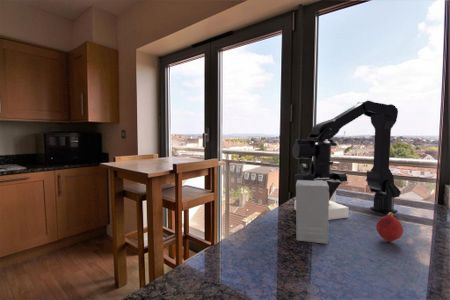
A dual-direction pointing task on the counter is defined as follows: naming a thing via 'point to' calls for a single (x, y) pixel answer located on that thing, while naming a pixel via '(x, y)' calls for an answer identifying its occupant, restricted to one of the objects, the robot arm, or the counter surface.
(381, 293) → the counter surface
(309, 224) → the skincare box
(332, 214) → the socket block
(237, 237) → the counter surface
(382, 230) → the onion
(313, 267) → the counter surface
